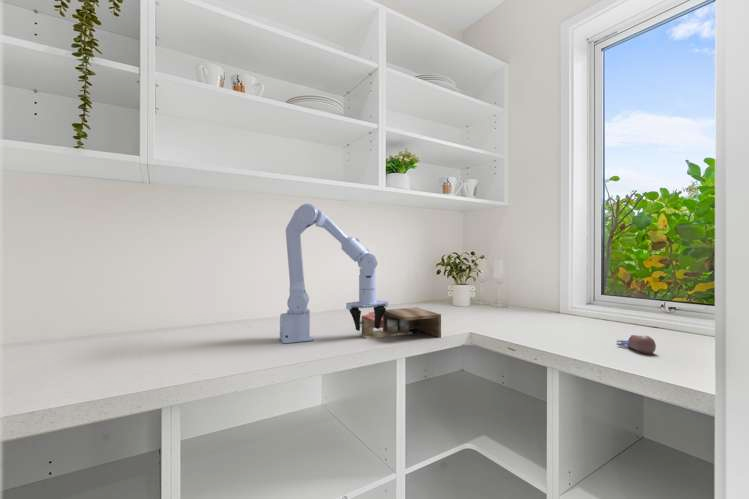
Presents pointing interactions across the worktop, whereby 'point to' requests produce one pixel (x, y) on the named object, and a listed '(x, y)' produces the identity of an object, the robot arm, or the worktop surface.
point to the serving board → (391, 328)
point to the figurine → (640, 343)
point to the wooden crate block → (416, 319)
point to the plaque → (372, 316)
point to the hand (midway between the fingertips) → (367, 329)
